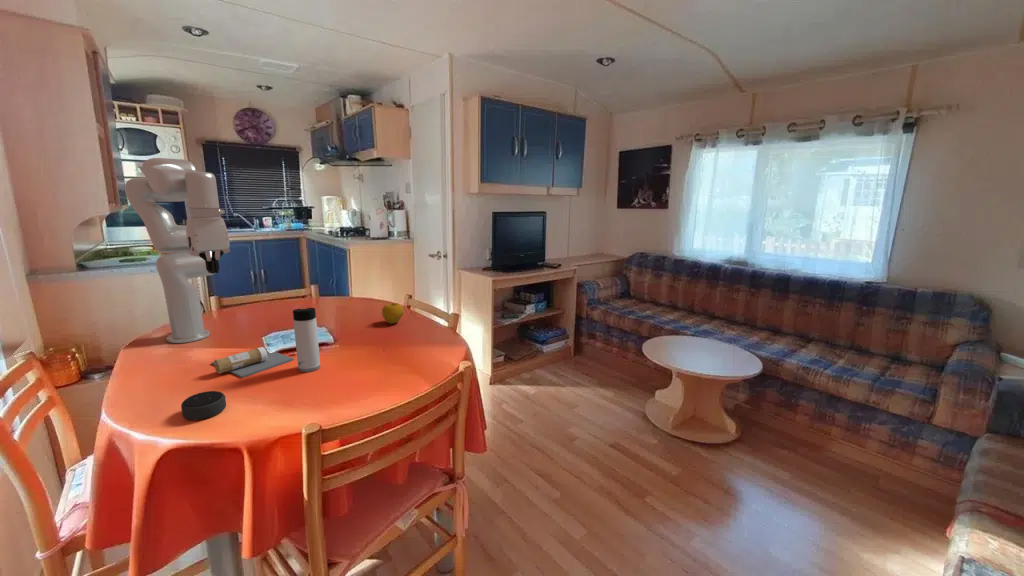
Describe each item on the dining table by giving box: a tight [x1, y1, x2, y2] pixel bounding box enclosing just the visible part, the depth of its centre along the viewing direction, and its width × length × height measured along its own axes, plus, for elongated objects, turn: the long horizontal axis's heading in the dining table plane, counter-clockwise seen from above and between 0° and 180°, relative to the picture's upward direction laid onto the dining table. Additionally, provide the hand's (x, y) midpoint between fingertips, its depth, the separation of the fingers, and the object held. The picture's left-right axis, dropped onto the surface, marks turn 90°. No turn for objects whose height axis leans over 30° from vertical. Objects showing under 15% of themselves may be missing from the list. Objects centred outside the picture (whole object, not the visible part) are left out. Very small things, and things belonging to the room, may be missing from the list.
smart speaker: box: [180, 390, 227, 421], centre depth 103 cm, size 9×9×4 cm
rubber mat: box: [211, 346, 294, 379], centre depth 133 cm, size 18×16×1 cm
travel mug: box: [292, 307, 321, 373], centre depth 128 cm, size 6×7×20 cm
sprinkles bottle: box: [213, 346, 267, 375], centre depth 128 cm, size 5×5×13 cm
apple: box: [381, 302, 404, 325], centre depth 174 cm, size 9×9×9 cm
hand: (213, 272), depth 129 cm, fingers closed
